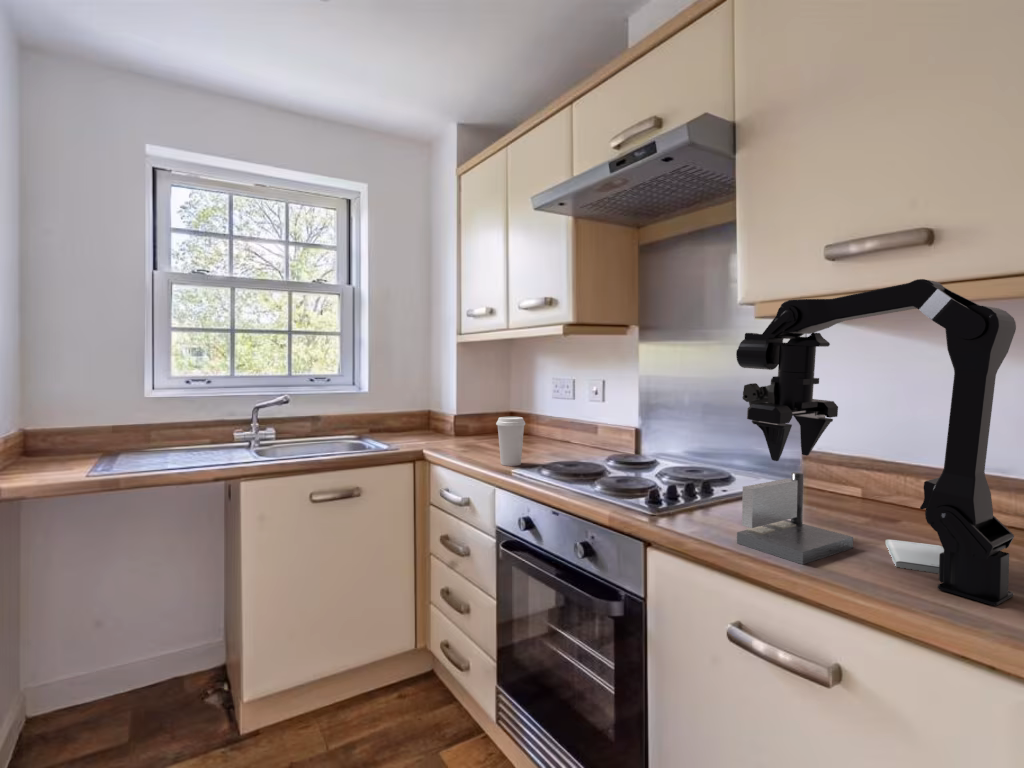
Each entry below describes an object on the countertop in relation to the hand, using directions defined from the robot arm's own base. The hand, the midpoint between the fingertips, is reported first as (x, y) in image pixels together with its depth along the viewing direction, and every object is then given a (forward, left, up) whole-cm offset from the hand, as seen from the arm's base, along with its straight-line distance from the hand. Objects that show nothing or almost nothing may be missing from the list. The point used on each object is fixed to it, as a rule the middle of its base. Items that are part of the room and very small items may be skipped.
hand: (790, 457), depth 97 cm
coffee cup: (+91, +5, -15) cm, 93 cm away
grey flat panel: (+3, +1, -12) cm, 12 cm away
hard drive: (-17, -9, -16) cm, 25 cm away
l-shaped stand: (-2, +1, -15) cm, 15 cm away
